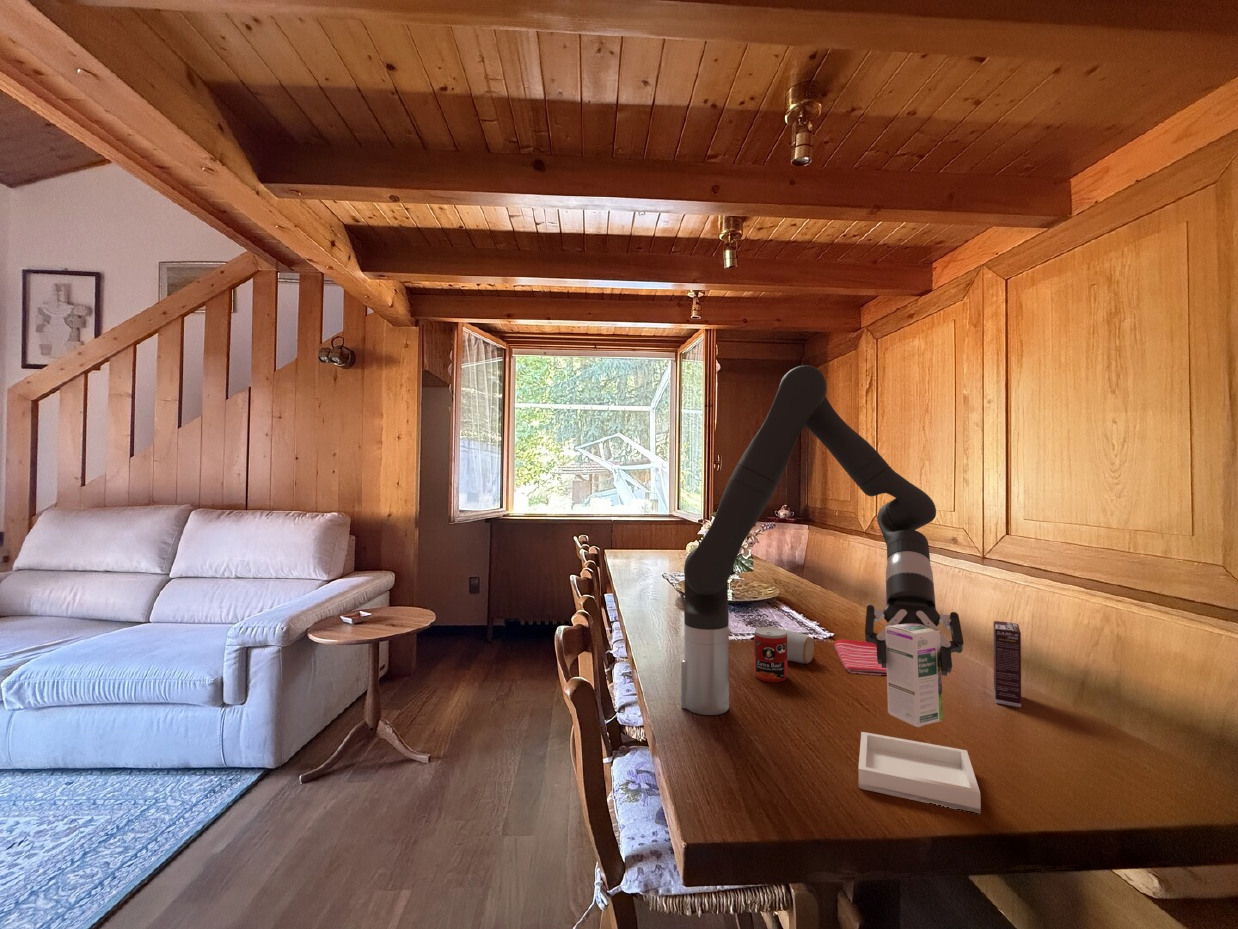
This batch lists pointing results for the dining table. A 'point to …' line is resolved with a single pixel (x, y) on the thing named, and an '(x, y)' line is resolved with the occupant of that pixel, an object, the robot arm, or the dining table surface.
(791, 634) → the ceramic mug
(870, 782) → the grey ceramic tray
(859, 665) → the dish towel
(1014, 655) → the supplement box
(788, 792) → the dining table surface
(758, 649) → the canned food
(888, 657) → the syrup box
